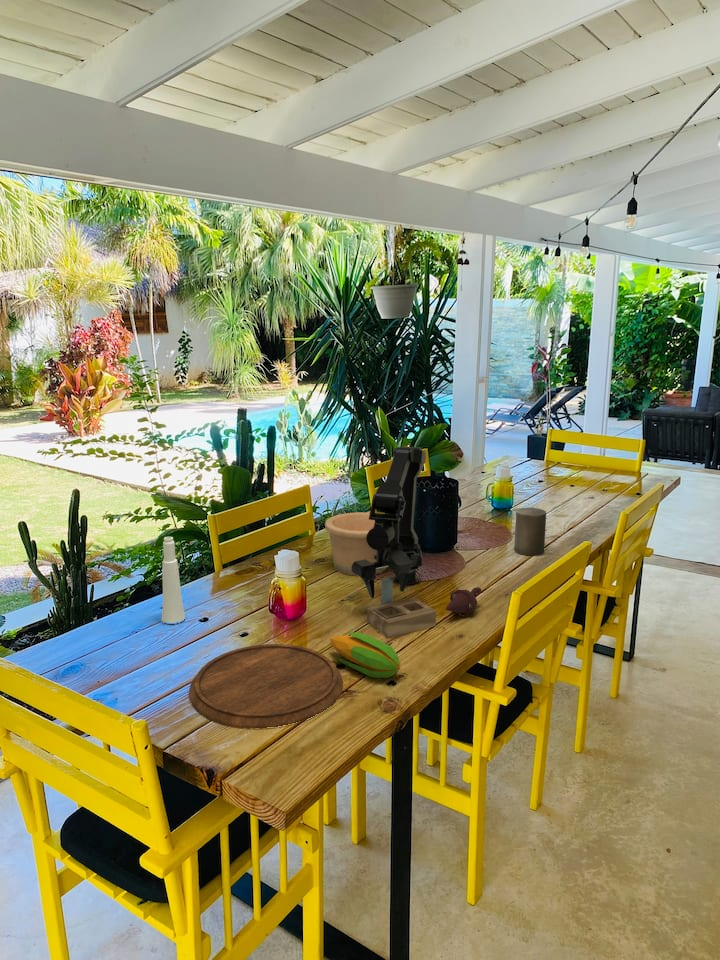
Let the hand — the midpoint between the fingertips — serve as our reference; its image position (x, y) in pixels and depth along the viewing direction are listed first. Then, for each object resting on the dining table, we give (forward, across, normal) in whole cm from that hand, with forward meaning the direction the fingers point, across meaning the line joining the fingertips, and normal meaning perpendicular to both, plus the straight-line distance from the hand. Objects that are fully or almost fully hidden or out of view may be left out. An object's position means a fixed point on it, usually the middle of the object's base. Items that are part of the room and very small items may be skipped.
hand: (387, 594), depth 188 cm
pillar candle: (+4, +65, +16) cm, 67 cm away
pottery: (+4, +10, +31) cm, 33 cm away
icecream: (+4, +15, -13) cm, 20 cm away
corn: (+4, -22, -24) cm, 33 cm away
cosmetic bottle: (+4, -51, +21) cm, 55 cm away
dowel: (+4, 0, 0) cm, 4 cm away
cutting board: (+5, -43, -21) cm, 48 cm away
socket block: (+4, -2, -10) cm, 11 cm away
